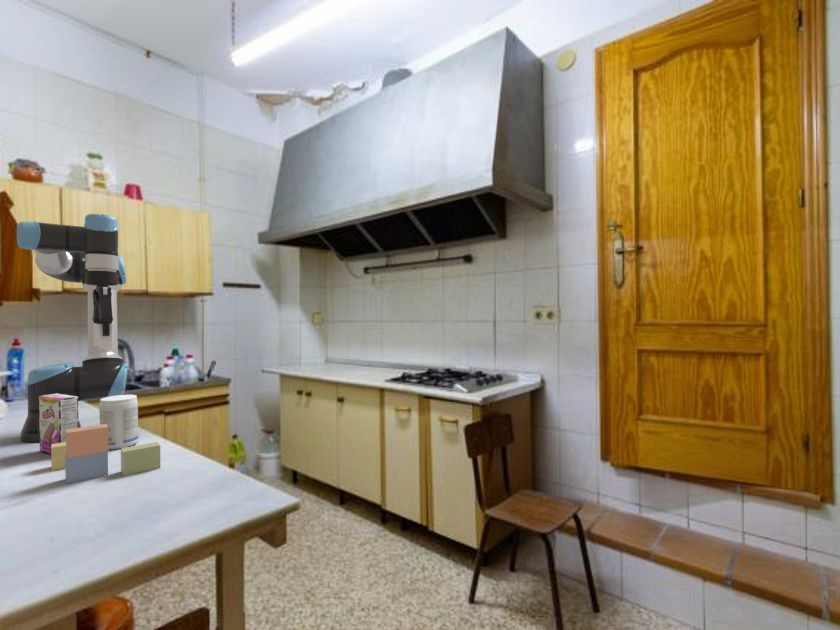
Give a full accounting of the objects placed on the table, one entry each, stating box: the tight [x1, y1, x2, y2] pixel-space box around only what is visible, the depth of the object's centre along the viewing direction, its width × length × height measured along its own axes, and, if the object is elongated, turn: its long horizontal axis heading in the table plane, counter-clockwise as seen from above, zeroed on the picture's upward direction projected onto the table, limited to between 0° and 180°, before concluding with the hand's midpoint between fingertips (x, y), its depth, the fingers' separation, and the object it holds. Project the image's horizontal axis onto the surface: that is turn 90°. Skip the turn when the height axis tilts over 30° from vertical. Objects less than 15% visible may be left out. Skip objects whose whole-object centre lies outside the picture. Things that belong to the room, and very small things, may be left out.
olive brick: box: [120, 441, 161, 477], centre depth 111 cm, size 8×4×6 cm, turn 132°
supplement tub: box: [99, 394, 140, 450], centre depth 132 cm, size 10×10×15 cm
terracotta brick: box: [66, 424, 109, 458], centre depth 106 cm, size 8×4×6 cm, turn 132°
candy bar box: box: [39, 393, 80, 455], centre depth 125 cm, size 11×5×16 cm, turn 65°
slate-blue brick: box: [64, 451, 109, 484], centre depth 106 cm, size 8×4×6 cm, turn 132°
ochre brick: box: [50, 442, 66, 471], centre depth 115 cm, size 8×4×6 cm, turn 132°
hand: (102, 347), depth 121 cm, fingers open, 13 cm apart
